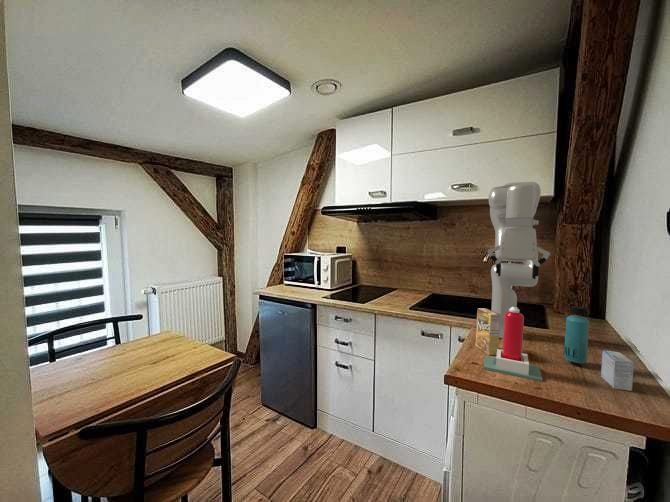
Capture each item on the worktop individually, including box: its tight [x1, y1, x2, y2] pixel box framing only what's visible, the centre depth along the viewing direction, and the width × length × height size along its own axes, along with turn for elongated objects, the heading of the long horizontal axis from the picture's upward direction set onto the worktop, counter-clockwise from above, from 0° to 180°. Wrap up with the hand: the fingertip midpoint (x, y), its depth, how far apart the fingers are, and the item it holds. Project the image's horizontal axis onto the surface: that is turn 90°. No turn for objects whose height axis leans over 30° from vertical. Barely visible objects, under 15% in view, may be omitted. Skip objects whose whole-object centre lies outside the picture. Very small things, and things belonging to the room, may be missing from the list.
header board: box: [483, 349, 543, 383], centre depth 99 cm, size 10×16×4 cm, turn 60°
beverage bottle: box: [563, 305, 590, 364], centre depth 103 cm, size 6×7×20 cm
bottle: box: [502, 306, 525, 361], centre depth 98 cm, size 5×5×20 cm
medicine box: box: [600, 350, 635, 392], centre depth 89 cm, size 8×4×9 cm, turn 158°
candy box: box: [475, 307, 501, 356], centre depth 113 cm, size 9×4×15 cm, turn 6°
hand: (516, 277), depth 97 cm, fingers open, 9 cm apart
